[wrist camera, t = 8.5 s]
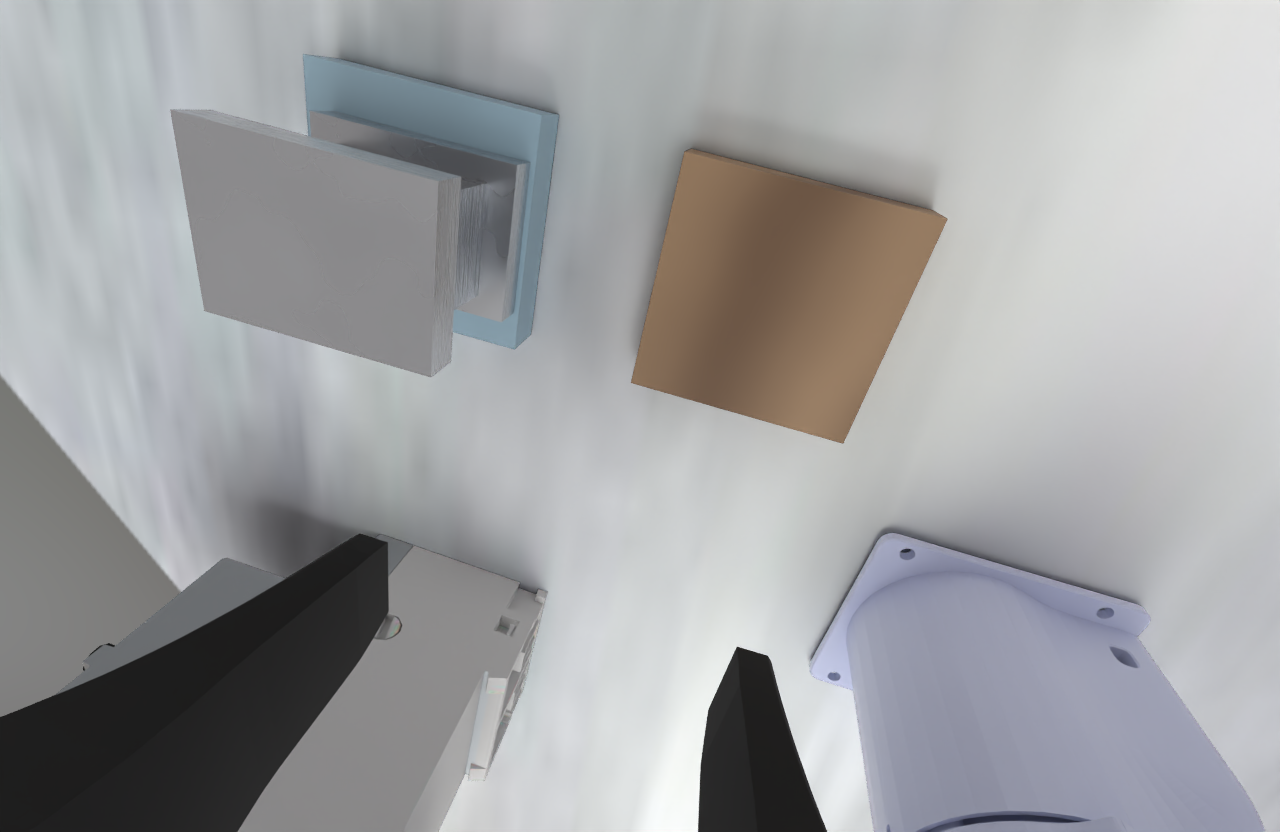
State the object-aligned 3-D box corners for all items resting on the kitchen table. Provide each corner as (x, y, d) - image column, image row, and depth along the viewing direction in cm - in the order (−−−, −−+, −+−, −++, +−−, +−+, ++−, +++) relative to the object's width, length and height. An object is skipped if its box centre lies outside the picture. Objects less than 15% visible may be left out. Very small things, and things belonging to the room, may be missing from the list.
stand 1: (559, 115, 17) (541, 115, 16) (530, 334, 20) (514, 349, 19) (338, 58, 17) (303, 53, 16) (347, 282, 21) (318, 293, 19)
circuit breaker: (258, 491, 27) (-228, 849, 14) (547, 592, 26) (325, 1070, 13) (268, 600, 30) (-107, 964, 17) (522, 691, 30) (330, 1141, 17)
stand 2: (933, 210, 16) (947, 218, 15) (838, 421, 20) (843, 443, 18) (691, 148, 17) (684, 151, 15) (639, 365, 20) (631, 382, 19)
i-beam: (333, 110, 17) (170, 109, 12) (530, 162, 16) (438, 181, 12) (340, 263, 19) (204, 311, 14) (514, 312, 18) (430, 377, 14)
